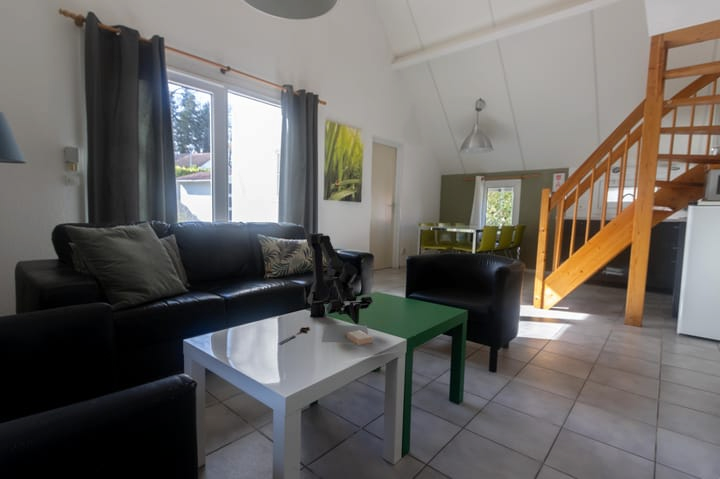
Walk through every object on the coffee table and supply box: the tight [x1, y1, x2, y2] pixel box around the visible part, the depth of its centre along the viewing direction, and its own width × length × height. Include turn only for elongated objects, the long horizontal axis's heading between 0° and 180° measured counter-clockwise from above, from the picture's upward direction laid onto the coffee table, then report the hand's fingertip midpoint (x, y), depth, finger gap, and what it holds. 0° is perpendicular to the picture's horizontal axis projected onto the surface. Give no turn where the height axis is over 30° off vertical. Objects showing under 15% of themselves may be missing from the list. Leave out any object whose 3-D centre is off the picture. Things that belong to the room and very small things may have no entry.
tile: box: [347, 330, 373, 346], centre depth 135 cm, size 2×6×9 cm
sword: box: [278, 326, 311, 346], centre depth 136 cm, size 25×4×2 cm, turn 155°
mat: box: [321, 324, 369, 343], centre depth 142 cm, size 18×20×1 cm
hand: (357, 323), depth 136 cm, fingers closed
